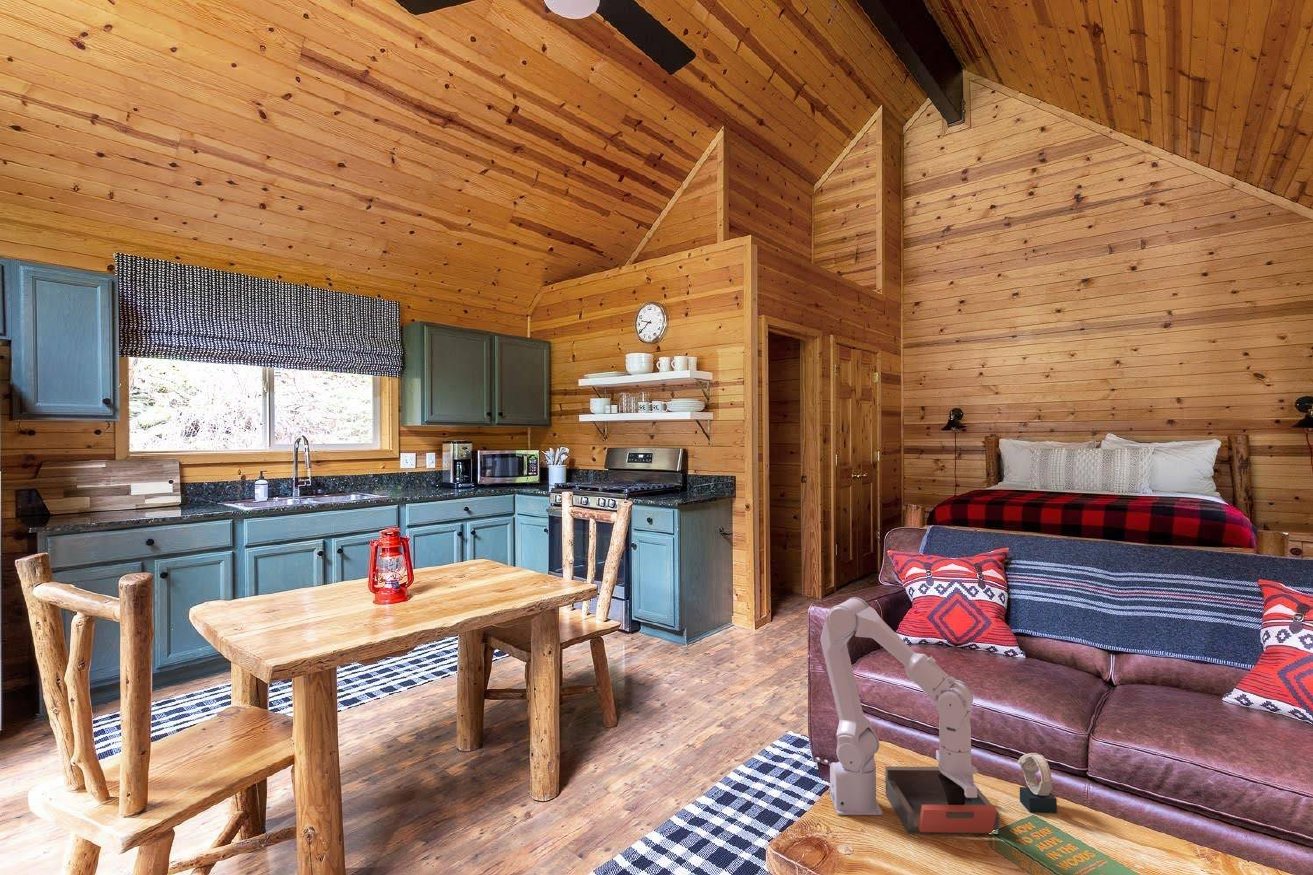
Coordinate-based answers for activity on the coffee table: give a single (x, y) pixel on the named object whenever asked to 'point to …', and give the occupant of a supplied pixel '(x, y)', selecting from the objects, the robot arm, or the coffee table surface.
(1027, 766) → the ring sculpture
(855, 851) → the coffee table surface
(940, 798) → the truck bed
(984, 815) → the panel
